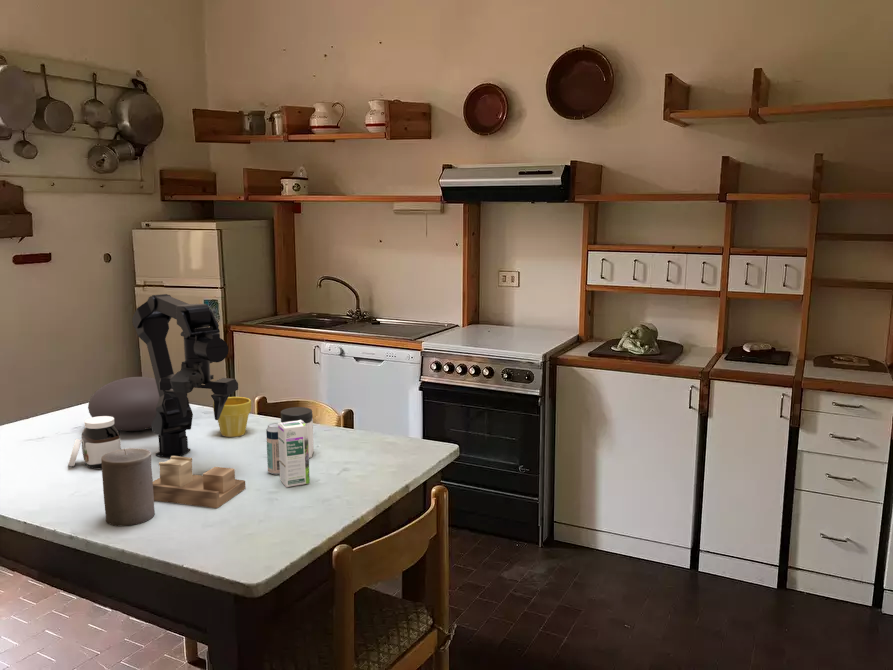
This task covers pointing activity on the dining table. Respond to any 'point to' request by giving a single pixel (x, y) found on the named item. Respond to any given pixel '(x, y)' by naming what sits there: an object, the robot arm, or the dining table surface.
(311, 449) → the jar
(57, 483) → the dining table surface
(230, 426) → the plant pot
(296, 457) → the syrup box
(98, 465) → the spread jar
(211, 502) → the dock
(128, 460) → the pillar candle
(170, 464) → the flanged wooden block
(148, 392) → the flattened ellipsoid
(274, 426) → the beer can
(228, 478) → the box
